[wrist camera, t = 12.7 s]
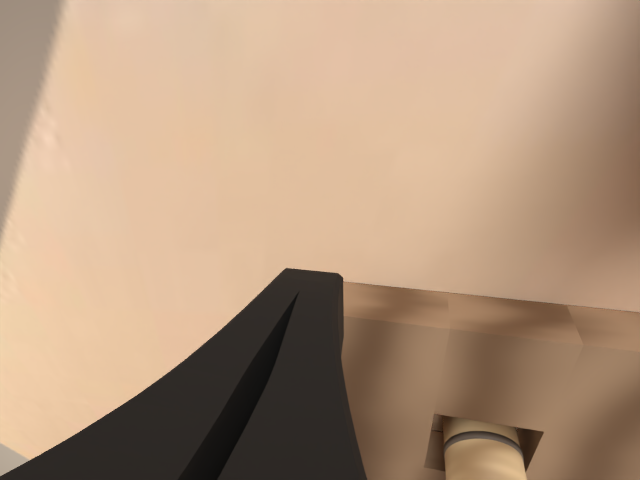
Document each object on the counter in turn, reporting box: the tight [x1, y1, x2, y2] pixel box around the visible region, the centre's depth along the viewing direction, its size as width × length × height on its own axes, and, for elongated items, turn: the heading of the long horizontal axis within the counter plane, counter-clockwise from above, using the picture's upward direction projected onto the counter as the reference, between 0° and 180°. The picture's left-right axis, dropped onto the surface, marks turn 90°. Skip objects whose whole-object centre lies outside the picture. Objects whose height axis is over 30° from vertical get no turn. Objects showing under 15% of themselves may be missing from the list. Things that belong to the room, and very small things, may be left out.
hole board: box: [341, 282, 640, 480], centre depth 23 cm, size 20×18×2 cm
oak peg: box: [442, 415, 527, 480], centre depth 22 cm, size 4×4×6 cm
